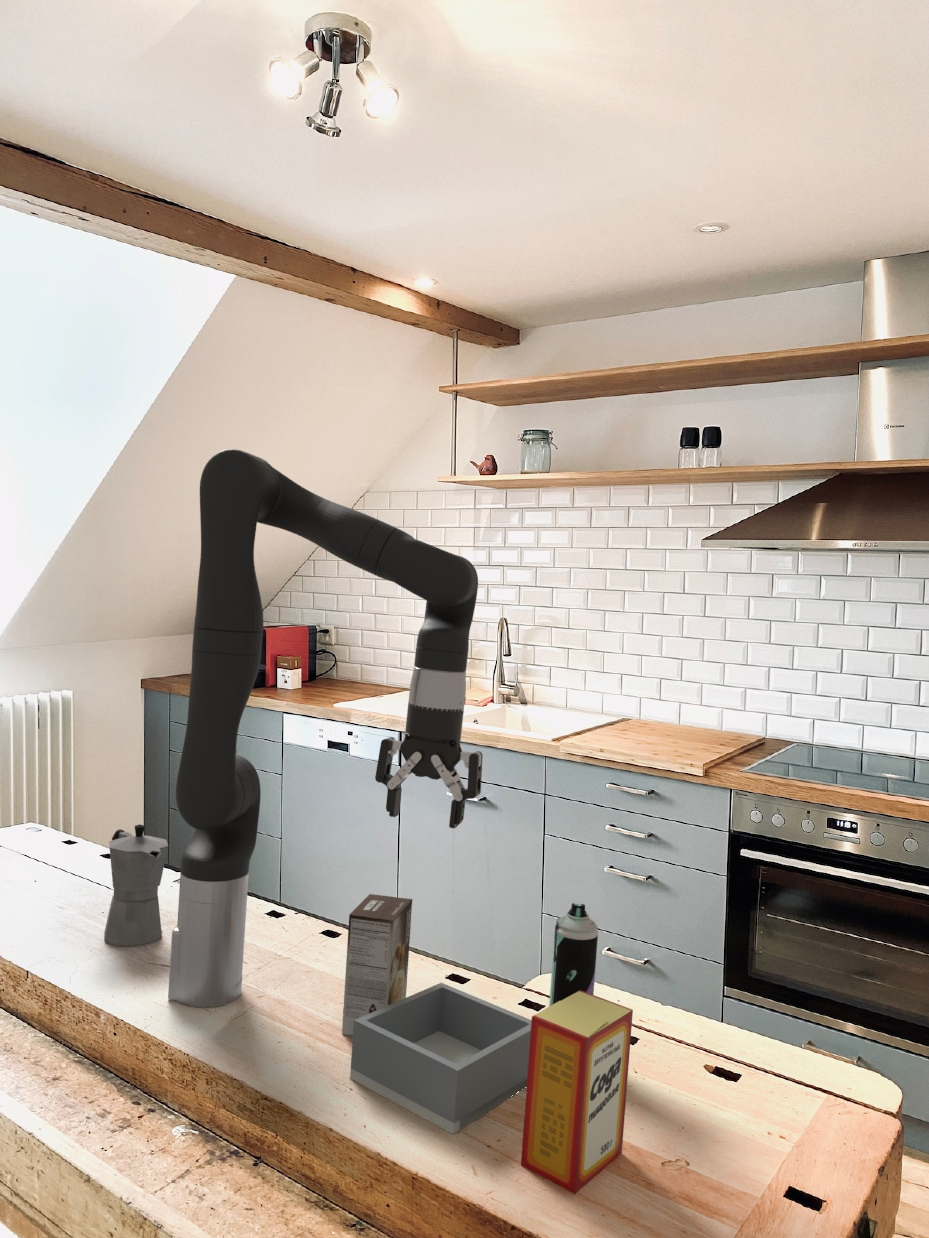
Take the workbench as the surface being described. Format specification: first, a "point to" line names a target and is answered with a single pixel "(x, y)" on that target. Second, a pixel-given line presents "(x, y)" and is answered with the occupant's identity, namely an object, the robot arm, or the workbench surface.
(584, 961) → the spray can
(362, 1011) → the coffee box
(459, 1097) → the tote
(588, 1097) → the baking soda box
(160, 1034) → the workbench surface
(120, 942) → the coffeepot
